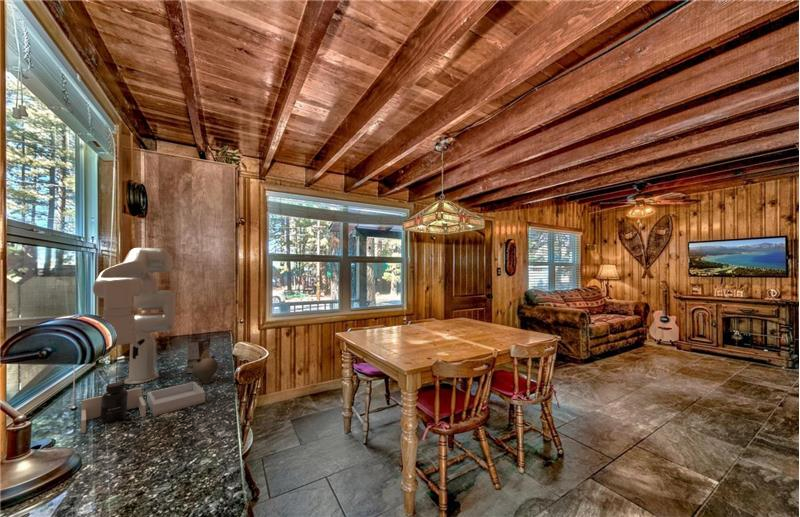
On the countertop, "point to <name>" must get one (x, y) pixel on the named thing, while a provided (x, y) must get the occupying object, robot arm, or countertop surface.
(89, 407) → the bay
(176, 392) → the tray
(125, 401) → the black boxy piece
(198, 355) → the coffee box
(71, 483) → the countertop surface
